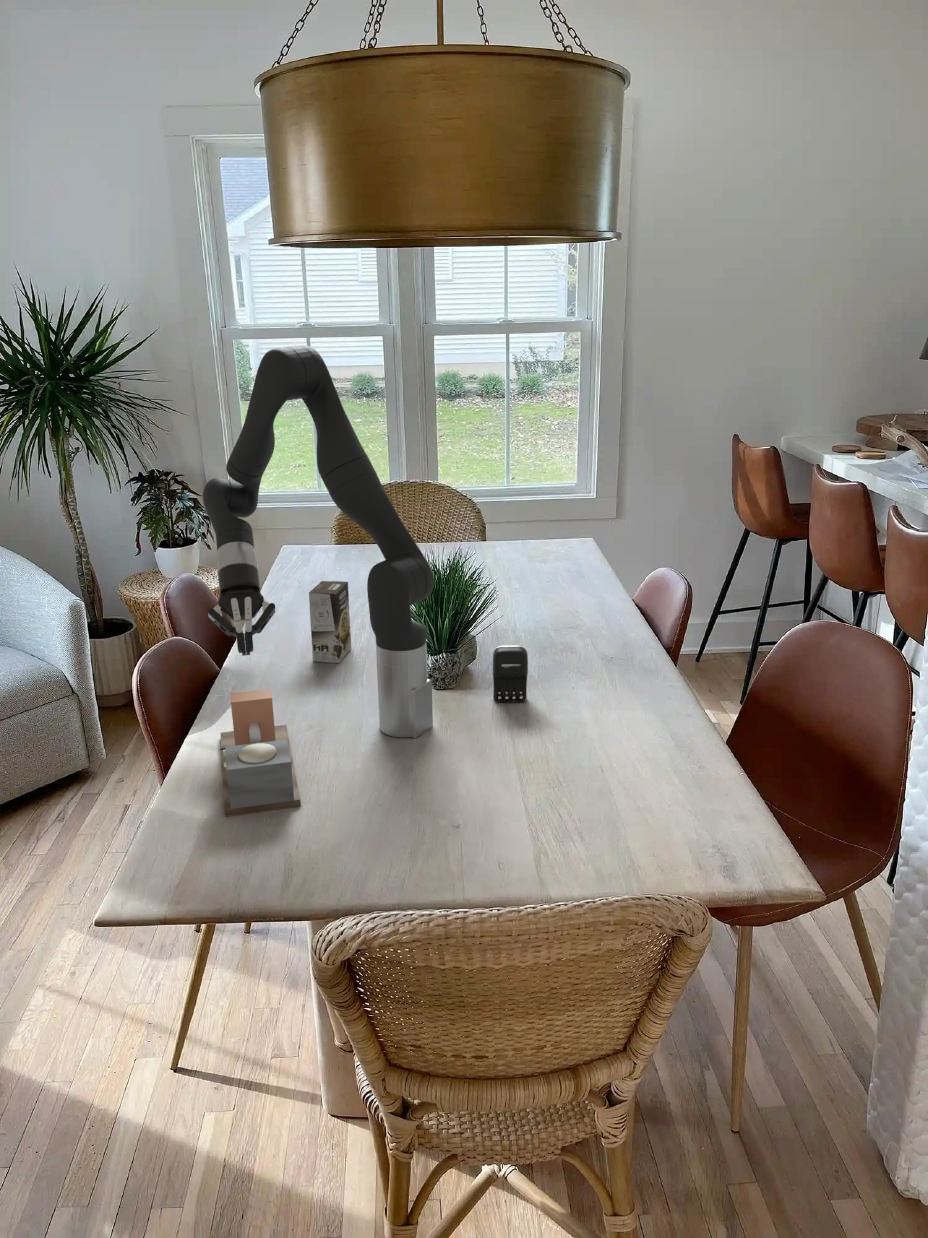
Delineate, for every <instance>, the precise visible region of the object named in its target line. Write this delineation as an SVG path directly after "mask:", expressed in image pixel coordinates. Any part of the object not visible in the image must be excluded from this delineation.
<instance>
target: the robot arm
mask: <svg viewBox="0 0 928 1238" xmlns="http://www.w3.org/2000/svg"><path fill="white" fill-rule="evenodd" d="M336 389H337V388H336V387H335V384H334V381H333V378H332V375H331V373H330V371H329V368H328V366H327V365H326V363H325V360H324V359H323V357H322V356H321V354H320V353H319V352H318V351H317V350H316V349H315V348H313V347H312V346H310V345H304V344H303V345H301V344H300V345H291V346H289V345H288V346H281V347H275V348H273V349H270V350H268V351H267V352H265V354H264V355H263V356H262V358H261V360H260V362H259V366H258V367H257V371H256V375H255V379H254V382H253V387H252V392H251V395H250V399H249V402H248V407H247V411H246V415H245V420H244V422H243V426H242V428H241V431H240V432H239V433H240V434H239V436H238V437H237V438H238V439H237V440H236V442H235V444H234V447H233V449H232V451H231V453H230V454H229V457H228V460H227V462H226V465H225V466H226V467H225V468H226V472H227V475H228V476H229V477H230V478H231V479H227V478H221V477H213V478H212V479H210V480H208V482H206V483H205V485H204V488H203V493H202V501H203V506H204V509H205V512H206V514H207V516H208V518H209V521H210V522H211V525H212V528H213V531H214V533H215V540H216V542H215V543H216V550H217V551H216V552H217V553H216V554H217V555H216V556H217V557H216V567H217V577H218V588H219V597H218V600H217V605H215V607H213V608H212V607H210V608H209V609H207V613H208V614H207V615H208V618H209V620H210V621H211V622H212V623H214V624H215V625H216V627H218V629H220V630H221V631H222V632H223V633H224V634H225V635H227V637H235V638H236V643H237V644H236V645H237V646H236V647H237V652H238V653H239V654H242V657H244V656H250V655H251V653H253V651H254V639H253V636H254V635H255V634H261V633H262V631H263V630H264V629H265V628H266V626H267V624H268V623H269V622H270V620H271V619H272V618H273V616H274V615H275V613H276V604H275V602H270V603H269V602H268V601H266V600H265V597H264V596H263V594H262V593H261V585H260V576H259V566H258V559H257V555H256V551H255V542H254V535H253V528H252V525H251V524H250V523H249V522H248V521H246V520H245V518H248V517H250V516H251V515H253V514H254V513H255V511H256V510H257V508H258V503H259V494H260V493H259V492H260V487H261V483H262V477H263V475H264V474H265V471H266V469H267V467H268V466H269V463H270V461H271V459H272V458H273V454H274V450H275V447H276V446H275V445H276V439H275V438H276V437H275V432H274V430H275V429H274V428H275V427H274V425H275V424H274V423H275V419H276V416H278V413H279V412H280V410H281V409H282V407H283V406H284V405H285V404H286V402H287V401H293V400H294V401H295V400H300V399H301V400H302V401H303V403H304V404H305V406H306V408H307V410H308V412H309V413H310V416H311V418H312V421H313V423H314V425H315V426H314V427H315V430H316V465H317V466H316V467H317V471H318V473H319V476H320V478H321V480H322V482H323V484H324V486H325V487H326V490H327V491H328V494H329V496H330V497H331V500H332V501H333V503H334V504H335V506H336V507H337V509H339V510H340V511H341V512H342V513H343V514H344V515H345V516H347V517H348V518H349V519H350V520H351V521H353V523H355V524H357V525H358V526H359V527H361V528H362V530H364V531H365V532H366V533H367V534H368V535H369V536H370V537H371V538H372V540H374V542H375V544H376V545H377V547H378V549H379V550H380V552H381V555H382V556H383V559H384V560H382V561H380V562H378V563H376V564H374V565H373V566H372V567H371V568H370V571H369V572H368V576H367V584H366V587H367V591H366V592H367V601H368V602H367V603H368V610H369V611H368V612H369V621H370V626H371V629H372V631H373V634H374V637H375V649H376V650H375V651H376V653H375V654H376V671H377V672H376V674H377V675H376V676H377V678H376V679H377V695H378V696H377V701H378V718H379V720H378V721H379V722H378V723H379V724H378V725H379V729H380V731H381V732H382V733H383V734H384V735H386V736H390V737H395V738H414V739H416V738H418V737H419V736H421V735H422V734H423V733H425V732H426V731H428V730H429V729H430V728H432V727H433V726H434V724H433V723H434V720H433V719H434V717H433V716H434V715H433V714H434V713H433V710H434V709H433V682H432V679H430V678H428V662H427V660H428V657H427V655H428V653H427V629H426V628H425V626H424V625H423V624H422V623H421V622H419V621H416V620H412V614H411V613H412V612H411V606H413V605H415V604H417V603H419V602H421V601H423V600H425V599H427V598H428V597H429V596H430V595H431V594H432V592H433V588H434V584H435V583H434V574H433V571H432V569H431V566H430V564H429V562H428V560H427V558H426V557H425V556H424V553H423V552H422V551H421V549H420V547H419V546H418V544H417V543H416V542H415V540H414V539H413V537H412V535H411V534H410V532H409V531H408V529H407V528H406V526H405V524H404V522H403V521H402V519H401V518H400V515H399V514H398V512H397V510H396V508H395V507H394V505H393V503H392V501H391V499H390V497H389V496H388V494H387V492H386V490H385V488H384V486H383V484H382V482H381V480H380V478H379V476H378V473H377V472H376V469H375V467H374V465H373V464H372V462H371V460H370V458H369V456H368V454H367V453H366V450H365V449H364V448H363V446H362V444H361V442H360V439H359V438H358V436H357V434H356V431H355V429H354V427H353V425H352V423H351V421H350V419H349V417H348V415H347V412H346V410H345V408H344V406H343V403H342V401H341V399H340V397H339V394H338V391H337V390H336ZM243 518H244V519H243ZM261 608H262V611H261V612H262V613H261V615H260V616H259V618H258V619H257V620H256V622H255V624H253V619H254V618H255V617H256V616H257V615H258V613H259V612H260V610H261ZM223 614H224V615H226V617H227V618H228V619H229V620H232V621H233V625H231V623H229V621H227V620H226V619H225V618H224V617H223ZM242 621H244V625H245V626H244V629H245V630H244V629H243V624H242ZM243 631H244V632H243Z"/></svg>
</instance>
